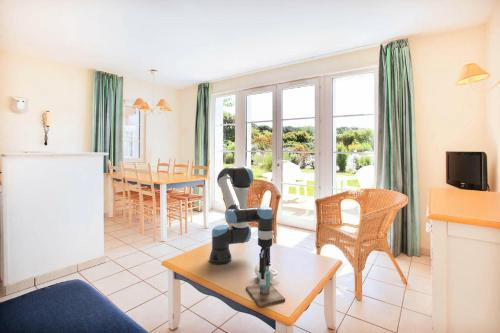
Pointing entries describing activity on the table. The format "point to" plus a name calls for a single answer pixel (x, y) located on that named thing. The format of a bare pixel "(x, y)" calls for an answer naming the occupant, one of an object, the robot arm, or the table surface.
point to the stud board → (264, 295)
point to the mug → (269, 270)
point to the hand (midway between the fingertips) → (264, 281)
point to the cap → (266, 279)
